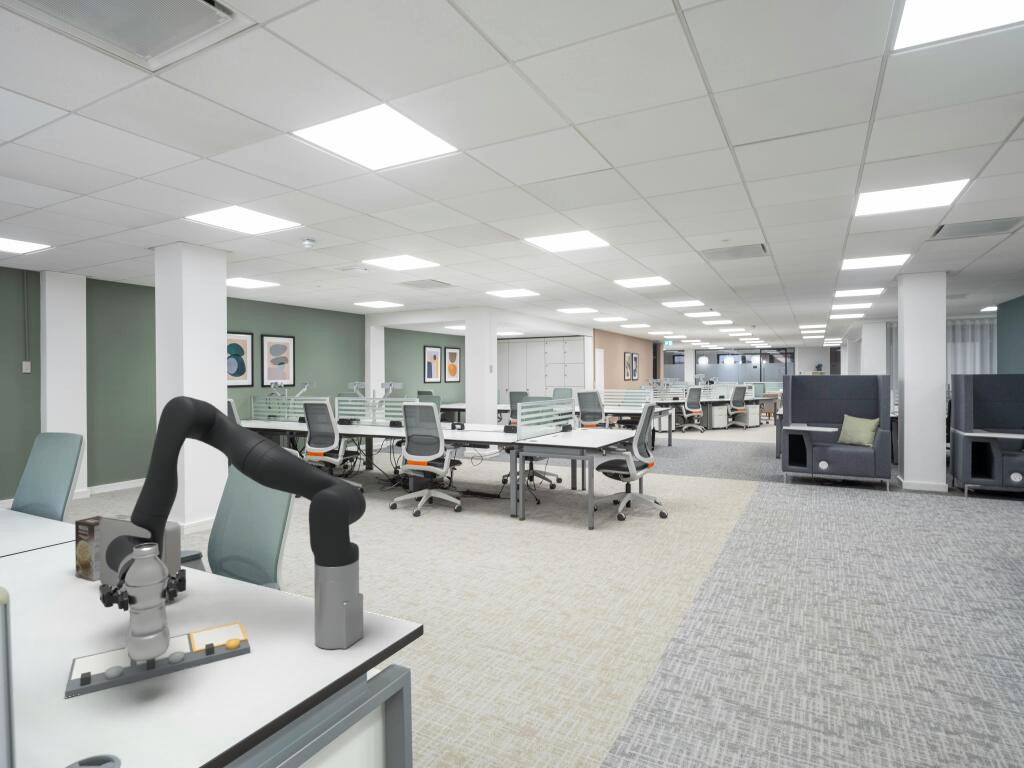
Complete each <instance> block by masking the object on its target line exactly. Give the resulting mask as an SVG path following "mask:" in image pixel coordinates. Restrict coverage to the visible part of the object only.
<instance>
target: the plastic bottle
mask: <svg viewBox="0 0 1024 768" xmlns="http://www.w3.org/2000/svg"><path fill="white" fill-rule="evenodd" d="M133 552H134V555H133V559H135V562H134V563H133V565H132V566H131V567H130V569H129V570H128V572H127V574H126V577H125V585H126V589H127V594H128V599H129V621H128V622H129V624H128V634H127V638H126V644H125V645H126V646H125V647H126V650H127V654H128V657H129V658H131V659H132V660H133V661H146V660H150V659H154V658H156V657H159V656H161V655H162V654H164V653H165V652H166V650H167V649H168V647H169V644H170V637H171V633H170V629H169V628H170V627H169V626H168V621H167V613H166V612H167V611H166V602H167V601H166V589H167V582H168V573H169V572H168V569H167V566H166V565H165V564H164V563H163V562H162V561H161V560H160V559H159V558H158V557H157V556H158V555H159V551H158V544H157V543H145V544H140V545H137V546H135V547H134V549H133ZM165 601H166V602H165Z"/></svg>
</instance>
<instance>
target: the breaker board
mask: <svg viewBox="0 0 1024 768" xmlns="http://www.w3.org/2000/svg"><path fill="white" fill-rule="evenodd" d="M250 653H251V646H250V643H249V641H248V637H247V634H246V631H245V629H244V627H243V624H242V622H241V621H236V622H231V623H228V624H227V623H226V624H222V625H219V626H215V627H209V628H205V629H201V630H195V631H192V632H191V631H190V632H188V633H184V634H179V635H176V636H170V644H169V647H168V649H167V650H166V652H165V653H164V654H162V655H161V656H159V657H156V658H154V659H150V660H146V661H133V660H132V659H131V658H129V657H128V654H127V650H126V646H125V647H120V648H115V649H112V650H111V649H110V650H107V651H103V652H98V653H94V654H89V655H86V656H85V655H84V656H80V657H76V658H72V662H71V666H70V670H69V675H68V678H67V683H66V687H65V691H64V698H65V697H69V696H73V695H78V694H82V695H85V694H84V693H86V694H89V693H88V692H90V693H93V692H92V691H94V692H98V691H102V690H106V689H109V688H113V687H118V686H122V685H125V684H131V683H135V682H137V681H142V680H147V679H150V678H153V677H154V678H155V677H158V676H163V675H166V674H170V672H171V673H174V672H173V671H175V672H178V671H177V670H179V671H181V669H183V670H185V669H184V668H187V669H189V667H191V668H193V667H192V666H195V667H197V666H196V665H199V666H201V665H200V664H203V665H206V664H205V663H207V664H209V663H208V662H211V663H213V661H215V662H219V661H222V659H223V660H227V659H230V658H234V657H238V656H243V655H246V654H250ZM218 660H219V661H218ZM78 696H79V695H78Z"/></svg>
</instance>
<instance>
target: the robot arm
mask: <svg viewBox="0 0 1024 768" xmlns="http://www.w3.org/2000/svg"><path fill="white" fill-rule="evenodd" d="M155 433H156V435H155V439H154V443H153V447H152V452H151V456H150V460H149V466H148V469H147V474H146V476H145V480H144V482H143V484H142V485H143V486H142V488H141V491H140V493H139V496H138V497H137V500H136V503H135V506H134V507H133V510H132V512H131V515H130V516H131V519H130V520H131V522H132V523H133V524H134V525H136V526H138V527H141V528H144V529H146V530H148V531H149V532H150V533H151V536H150V538H144V537H137V536H131V535H121V536H118V537H116V538H115V539H113V540H112V541H111V543H110V544H109V545H108V547H107V550H106V555H105V559H106V563H107V565H108V567H109V568H110V569H112V570H113V571H115V572H117V573H118V584H117V586H114V587H112V585H109V586H108V584H103V585H102V584H100V585H99V601H100V602H101V603H102V605H103V606H104V608H111V607H114V605H115V604H116V605H117V609H119V610H123V612H127V611H130V608H129V599H128V594H127V589H126V585H125V577H126V574H127V572H128V570H129V569H130V567H131V566H132V565H133V563H134V562H135V559H133V555H134V552H133V549H134V547H135V546H137V545H140V544H145V543H157V544H158V551H159V555H158V556H157V557H158V558H159V559H160V560H161V558H162V553H163V538H164V531H165V526H166V522H167V521H168V520H169V519H168V518H169V516H170V514H171V512H172V509H173V506H174V503H175V501H176V498H177V494H178V488H179V477H178V475H179V474H178V463H179V456H180V453H181V449H182V446H183V445H184V444H185V443H184V442H185V441H186V440H187V439H191V440H196V441H199V442H201V443H204V444H206V445H208V446H211V447H213V448H214V449H216V450H218V451H220V452H221V453H222V454H224V455H225V456H226V458H227V459H228V461H229V462H230V463H231V465H232V466H233V467H234V468H235V469H236V470H237V471H238V472H240V473H241V474H243V475H244V476H246V477H247V478H249V479H250V480H252V481H254V482H255V483H257V484H259V485H262V486H263V487H266V488H269V489H272V490H276V491H280V492H283V493H288V494H292V495H296V496H299V497H302V498H304V499H307V500H309V501H310V503H309V508H308V529H309V531H308V532H309V544H310V545H309V546H310V549H311V553H312V555H313V559H314V569H313V570H314V577H313V578H314V644H315V646H317V647H318V648H321V649H325V650H326V649H327V650H337V649H344V650H345V649H348V648H349V647H350V646H352V645H353V644H355V643H356V642H358V641H359V640H361V639H362V638H363V637H364V594H363V593H360V548H359V545H358V544H357V543H355V542H353V541H351V538H350V525H352V524H354V523H356V522H357V521H359V520H360V519H361V518H362V517H363V516H364V514H365V512H366V508H367V503H366V502H367V501H366V498H365V495H364V494H363V493H362V491H361V490H360V489H359V488H358V487H357V486H355V485H354V484H353V483H352V484H351V483H350V482H347V481H345V480H343V479H341V478H339V477H336V476H334V475H331V474H330V473H327V472H325V471H324V470H321V469H320V468H317V467H315V466H314V465H312V464H311V463H309V462H307V461H306V460H304V459H302V458H301V457H299V456H298V455H296V454H294V453H292V452H291V451H288V450H287V449H286V448H284V447H283V446H282V445H279V444H277V443H276V442H275V441H272V440H271V439H269V438H267V437H265V436H263V435H261V434H259V433H257V432H255V431H253V430H252V429H249V428H247V427H244V426H242V425H240V424H239V423H237V422H236V421H234V420H233V419H232V418H231V417H229V416H228V415H226V413H224V412H222V411H221V410H220V409H218V408H217V407H216V406H215V405H213V404H212V403H211V402H210V403H209V402H208V401H205V400H202V399H201V400H200V399H198V398H194V397H190V396H185V395H180V396H179V395H178V396H176V397H173V398H171V399H170V400H169V401H167V402H166V404H165V405H164V407H163V409H162V411H161V414H160V416H159V421H158V425H157V427H156V432H155ZM186 574H187V569H184V568H181V570H179V572H176V574H175V575H170V574H169V573H168V582H167V589H166V595H167V597H168V601H169V602H171V601H172V602H173V601H175V599H176V598H177V597H178V593H177V591H178V590H179V593H180V592H185V591H187V575H186ZM116 592H117V593H116Z"/></svg>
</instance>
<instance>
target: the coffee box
mask: <svg viewBox="0 0 1024 768" xmlns="http://www.w3.org/2000/svg"><path fill="white" fill-rule="evenodd" d="M102 517H103V516H100V515H95V516H91V517H88V518H87V517H86V518H84V519H78V520H75V521H74V523H75V524H74V525H75V526H74V527H75V528H74V529H75V530H74V532H75V535H74V538H75V549H74V551H75V577H77V578H81V579H84V580H88V581H92V582H96V581H99V579H100V531H99V521H100V519H101V518H102Z"/></svg>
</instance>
